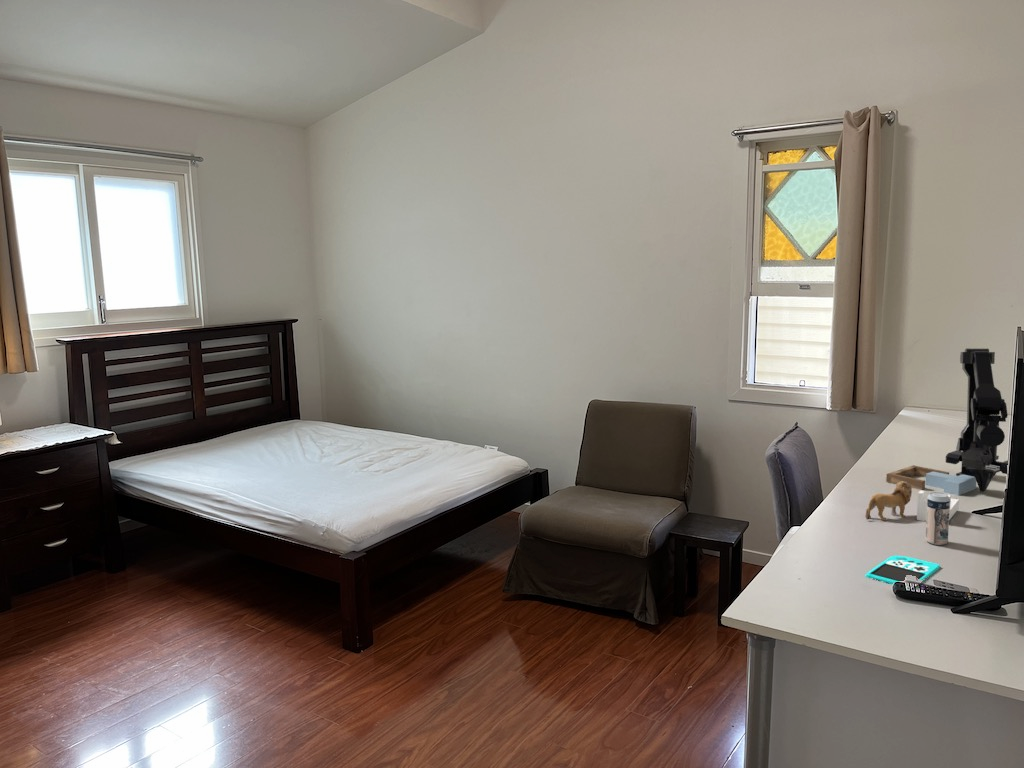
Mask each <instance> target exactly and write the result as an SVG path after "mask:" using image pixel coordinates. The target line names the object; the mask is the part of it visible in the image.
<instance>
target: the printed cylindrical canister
mask: <svg viewBox="0 0 1024 768" xmlns="http://www.w3.org/2000/svg"><path fill="white" fill-rule="evenodd" d="M947 494H948V493H945V492H940V491H939V492H936V491H933V492H930V493H929V494H928V495H927V496H926V497H927V498H928V499H927V521H925V522H926V525H925V526H926V527H925V541H926V542H927V543H929V544H931V545H934V546H944V545H947V544H948V543H949V530H950V529H949V528H950V527H949V526H950V525H949V524H950V523H949V522H950V520H949V509H950V498H949V497H948V495H949V494H948V495H947Z"/></svg>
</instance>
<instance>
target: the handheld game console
mask: <svg viewBox="0 0 1024 768" xmlns="http://www.w3.org/2000/svg"><path fill="white" fill-rule="evenodd" d="M940 568H941V565H940V564H939V563H935V562H930V561H928V560H927V561H926V560H922V559H919V558H914V557H911V556H905V555H891V556H889V557H888V558H887V559H885V560H883V561H882V562H881V563H879V564H878V565H876V566H874V568H872V569H871V570H869V571H868V572H867V573H865V574H864V575H865V578H867V577H868V578H867V579H870V578H873V579H872V580H875V579H876V580H875V581H877V580H878V582H881V581H883V582H882V583H885V582H886V583H888V584H889V585H892V584H893V583H895V582H899V581H904V580H905V577H906V575H912V576H916V577H917V578H918V579H920V580H923V579H925V578H927V577H928V578H929V577H930V576H932V575H933V574H934V573H935V572H937V570H939V569H940ZM928 578H927V579H928ZM925 580H926V579H925Z"/></svg>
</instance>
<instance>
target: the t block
mask: <svg viewBox="0 0 1024 768" xmlns="http://www.w3.org/2000/svg"><path fill="white" fill-rule="evenodd" d="M925 486H928V487H932V488H938V489H942V490H943V493H945V494H949V495H955V496H961V495H963V494H966V493H968V492H972V491H973V490H975V489H977V481H976V479H975V477H973V476H968V475H963V474H962V475H959V476H958V475H953V474H950V473H949V474H944V473H939V472H934V471H933V472H930V473H927V474H926V477H925Z"/></svg>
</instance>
